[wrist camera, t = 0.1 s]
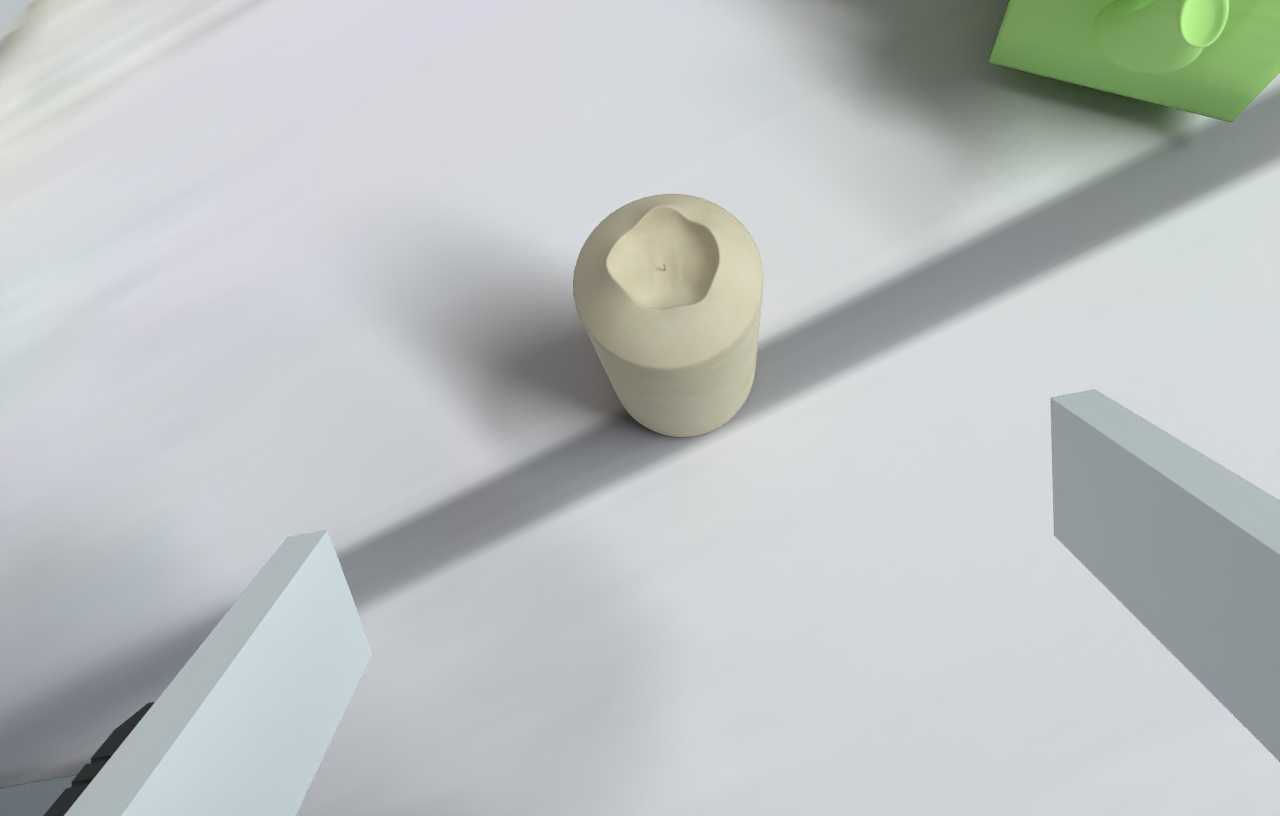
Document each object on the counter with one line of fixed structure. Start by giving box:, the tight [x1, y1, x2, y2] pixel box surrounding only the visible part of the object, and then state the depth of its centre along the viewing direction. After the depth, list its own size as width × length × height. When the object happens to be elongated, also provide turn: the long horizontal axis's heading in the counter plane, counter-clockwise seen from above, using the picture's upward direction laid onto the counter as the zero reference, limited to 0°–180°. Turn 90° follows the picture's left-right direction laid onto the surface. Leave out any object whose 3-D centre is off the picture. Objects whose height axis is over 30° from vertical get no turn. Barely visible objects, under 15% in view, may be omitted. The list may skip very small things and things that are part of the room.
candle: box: [573, 194, 763, 437], centre depth 27 cm, size 6×6×10 cm
